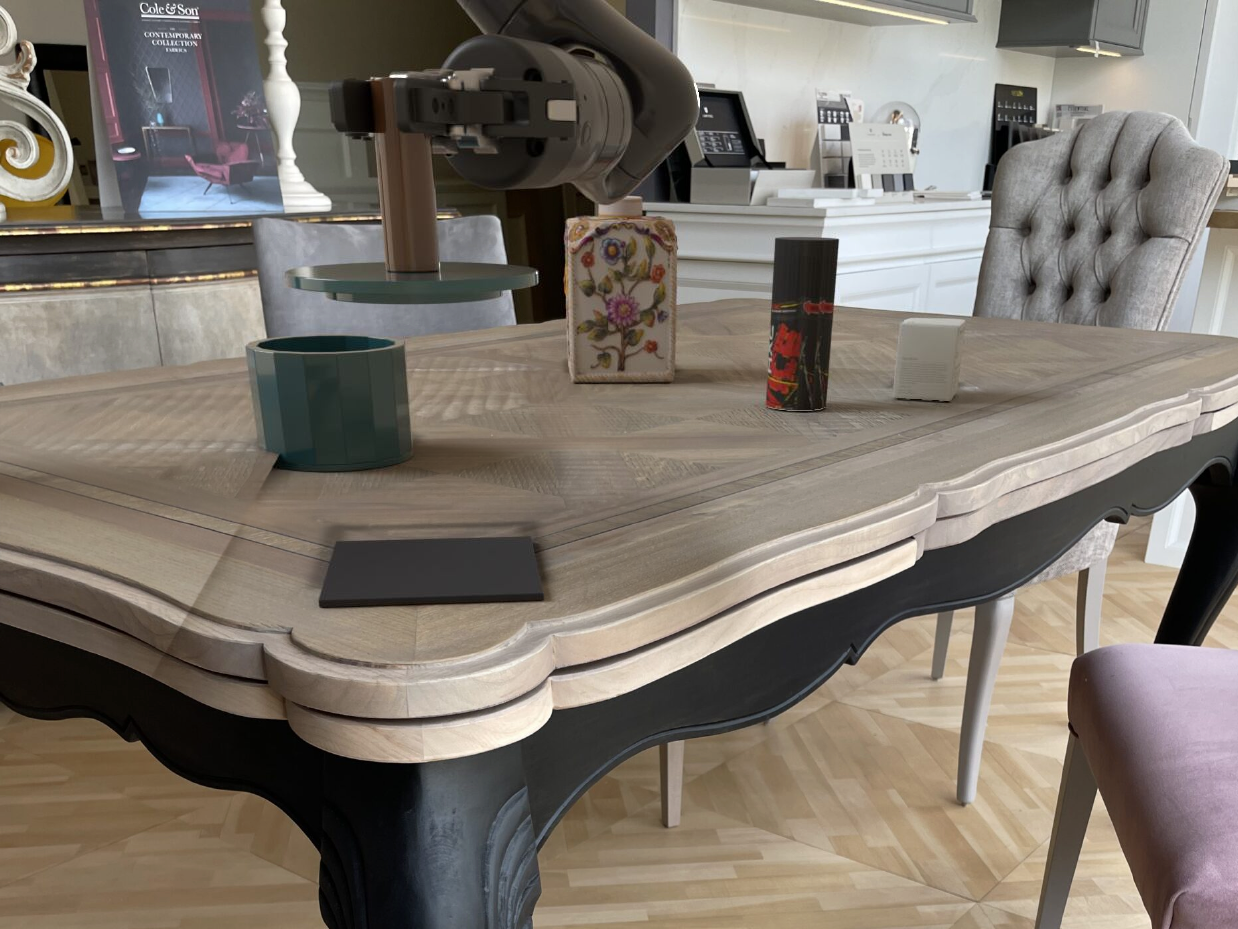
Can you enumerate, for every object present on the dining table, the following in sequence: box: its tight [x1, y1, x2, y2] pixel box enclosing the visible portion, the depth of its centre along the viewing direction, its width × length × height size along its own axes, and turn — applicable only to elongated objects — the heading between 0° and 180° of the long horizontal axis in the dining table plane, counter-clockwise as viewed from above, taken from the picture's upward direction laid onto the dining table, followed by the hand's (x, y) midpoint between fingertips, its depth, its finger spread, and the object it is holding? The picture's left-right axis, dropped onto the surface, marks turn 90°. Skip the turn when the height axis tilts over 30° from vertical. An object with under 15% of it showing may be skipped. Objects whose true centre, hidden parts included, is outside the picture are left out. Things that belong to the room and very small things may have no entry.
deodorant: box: [765, 236, 840, 410], centre depth 120 cm, size 6×6×15 cm
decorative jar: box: [563, 195, 679, 384], centre depth 136 cm, size 12×12×18 cm
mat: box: [318, 535, 545, 608], centre depth 72 cm, size 12×12×1 cm
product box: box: [892, 317, 967, 402], centre depth 128 cm, size 6×6×7 cm
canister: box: [244, 333, 414, 473], centre depth 99 cm, size 12×12×8 cm
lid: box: [284, 76, 540, 305], centre depth 63 cm, size 13×13×10 cm
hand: (370, 105), depth 59 cm, fingers closed on lid, 3 cm apart
